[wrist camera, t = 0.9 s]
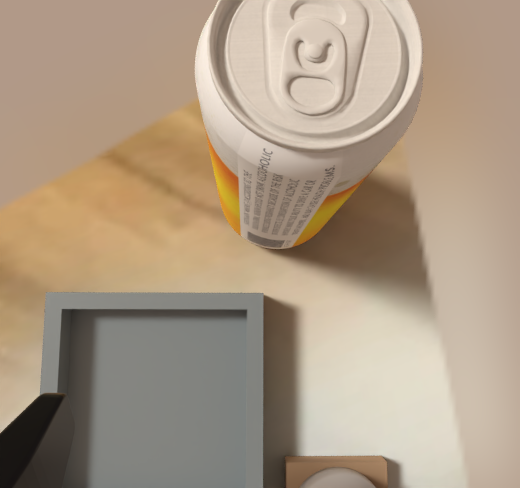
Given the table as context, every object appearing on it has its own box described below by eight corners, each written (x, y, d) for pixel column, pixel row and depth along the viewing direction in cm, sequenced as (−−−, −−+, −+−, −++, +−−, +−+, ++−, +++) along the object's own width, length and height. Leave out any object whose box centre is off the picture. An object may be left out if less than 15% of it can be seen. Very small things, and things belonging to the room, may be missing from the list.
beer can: (334, 149, 27) (444, -54, 12) (326, 256, 26) (434, 178, 11) (226, 137, 27) (205, -81, 12) (214, 245, 26) (175, 151, 11)
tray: (261, 504, 25) (263, 521, 23) (49, 506, 24) (32, 524, 22) (262, 294, 26) (263, 293, 24) (61, 293, 26) (46, 292, 24)
